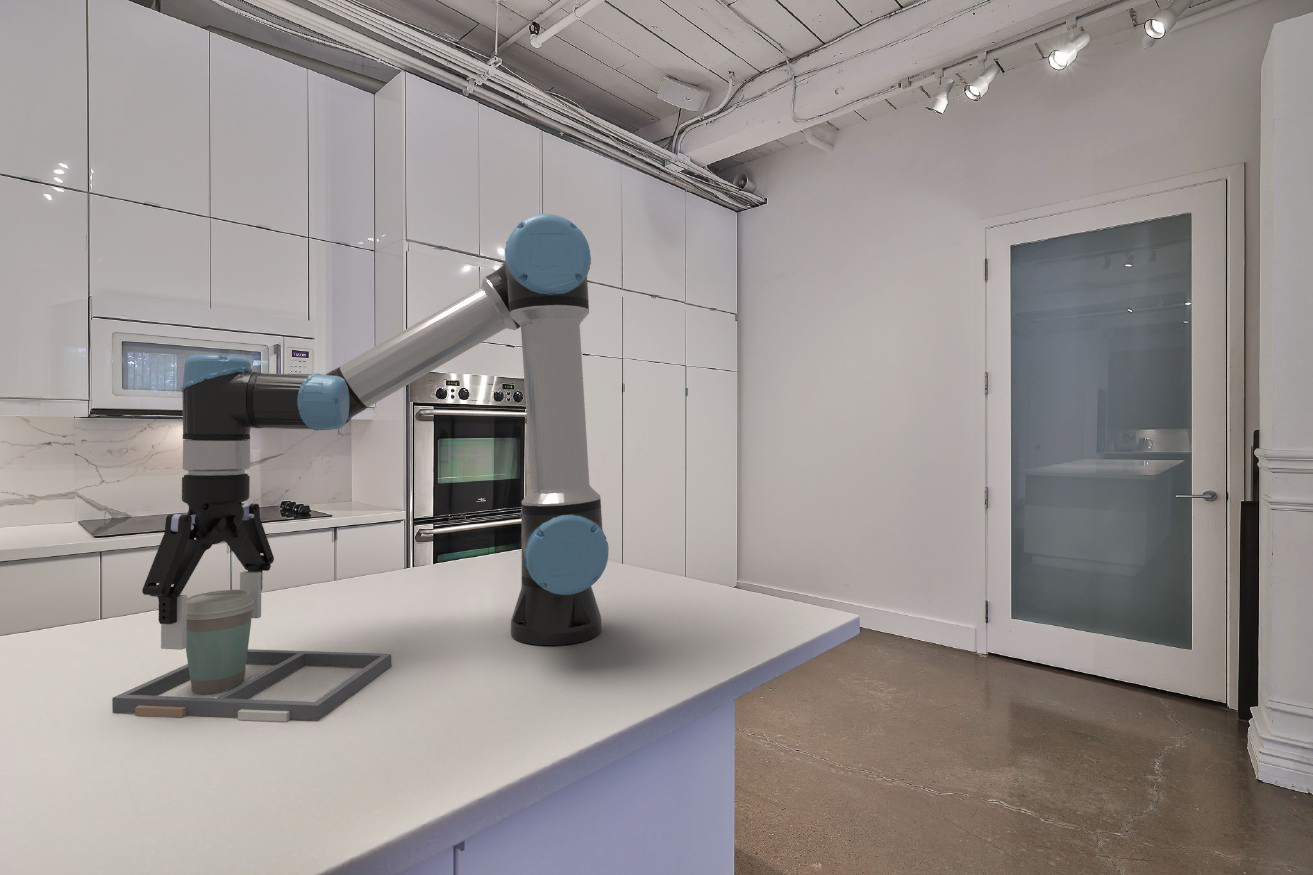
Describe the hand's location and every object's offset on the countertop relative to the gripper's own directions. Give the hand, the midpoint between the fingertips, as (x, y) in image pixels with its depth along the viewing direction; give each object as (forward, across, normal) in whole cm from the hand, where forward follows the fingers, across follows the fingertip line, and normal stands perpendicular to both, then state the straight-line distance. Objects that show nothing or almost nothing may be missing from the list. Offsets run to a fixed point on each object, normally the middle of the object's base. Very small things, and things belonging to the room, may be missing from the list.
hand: (214, 631), depth 88 cm
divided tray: (+7, 0, +7) cm, 10 cm away
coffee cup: (+7, 0, 0) cm, 7 cm away
